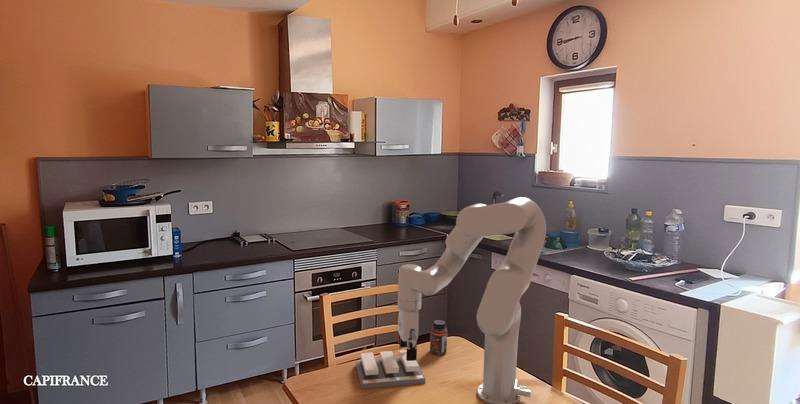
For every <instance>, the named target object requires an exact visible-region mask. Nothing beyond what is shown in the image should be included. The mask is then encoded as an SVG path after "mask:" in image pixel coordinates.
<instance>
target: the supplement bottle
mask: <svg viewBox="0 0 800 404" xmlns="http://www.w3.org/2000/svg"><path fill="white" fill-rule="evenodd" d="M429 339H430V340H429V351H430V353H431V354H432V355H436V356H443V355H445V354H447V350H448V349H447V347H448V344H447V342H448V328H447V327H446V322H445V321H444V320H441V319H437V320H436V319H435V320H434V321H433V326H431V328H430V338H429Z"/></svg>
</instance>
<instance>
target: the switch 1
mask: <svg viewBox="0 0 800 404" xmlns="http://www.w3.org/2000/svg"><path fill="white" fill-rule="evenodd" d="M375 360H376V359H375V356H374V353H373V352H361V353H360V361H362V364H363V368H364V372H365V375H376V374H378V367H377V364H376V361H375Z"/></svg>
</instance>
